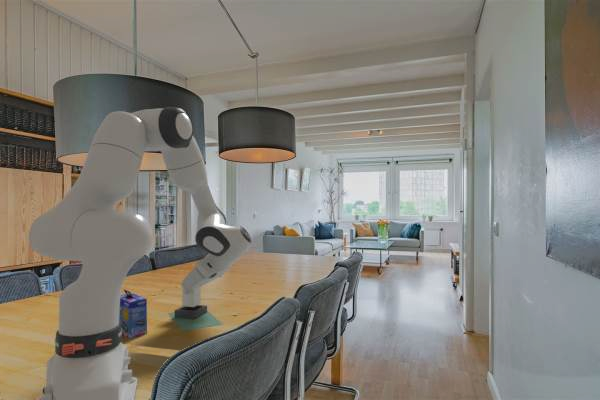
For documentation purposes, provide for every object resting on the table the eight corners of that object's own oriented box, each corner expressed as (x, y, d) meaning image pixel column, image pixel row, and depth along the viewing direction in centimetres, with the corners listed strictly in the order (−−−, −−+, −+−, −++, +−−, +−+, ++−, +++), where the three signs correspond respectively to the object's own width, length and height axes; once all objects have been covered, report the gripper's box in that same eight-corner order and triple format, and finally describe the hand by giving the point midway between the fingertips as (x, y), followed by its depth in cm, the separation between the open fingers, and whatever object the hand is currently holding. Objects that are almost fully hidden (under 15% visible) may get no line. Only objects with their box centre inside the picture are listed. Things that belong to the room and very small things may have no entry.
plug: (200, 303, 125) (200, 278, 125) (193, 307, 120) (194, 281, 120) (189, 302, 126) (189, 277, 126) (182, 306, 121) (182, 280, 122)
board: (222, 329, 113) (223, 316, 113) (181, 336, 107) (182, 323, 107) (204, 311, 131) (204, 301, 131) (168, 317, 125) (168, 306, 125)
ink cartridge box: (114, 335, 107) (115, 288, 107) (132, 331, 111) (133, 285, 111) (129, 344, 100) (130, 293, 101) (147, 338, 105) (148, 290, 105)
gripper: (223, 253, 132) (199, 278, 134) (194, 262, 112) (167, 291, 114) (234, 266, 131) (209, 290, 133) (207, 277, 111) (179, 305, 113)
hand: (190, 290), depth 123 cm, fingers closed on plug, 4 cm apart
